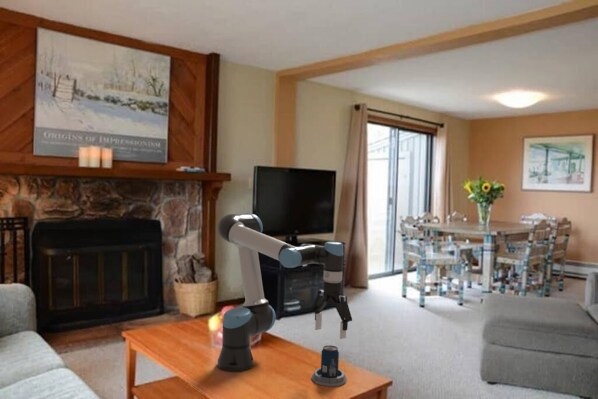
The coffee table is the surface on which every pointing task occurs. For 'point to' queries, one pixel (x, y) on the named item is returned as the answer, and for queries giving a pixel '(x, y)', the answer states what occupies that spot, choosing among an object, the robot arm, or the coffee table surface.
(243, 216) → the robot arm
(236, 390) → the coffee table surface
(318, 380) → the can holder
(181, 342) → the coffee table surface
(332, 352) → the soda can
